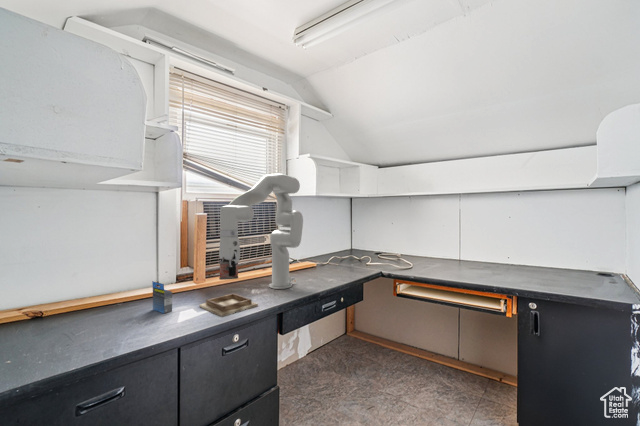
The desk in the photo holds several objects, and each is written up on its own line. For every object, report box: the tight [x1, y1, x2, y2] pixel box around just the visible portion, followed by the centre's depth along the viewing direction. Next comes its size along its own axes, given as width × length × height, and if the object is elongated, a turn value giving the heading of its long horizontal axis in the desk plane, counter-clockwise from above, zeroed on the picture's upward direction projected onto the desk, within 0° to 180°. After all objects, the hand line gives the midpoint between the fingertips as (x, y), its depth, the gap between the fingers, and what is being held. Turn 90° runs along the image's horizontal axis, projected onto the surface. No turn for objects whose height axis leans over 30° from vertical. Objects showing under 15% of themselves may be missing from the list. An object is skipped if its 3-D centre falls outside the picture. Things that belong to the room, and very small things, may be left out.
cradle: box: [199, 292, 259, 317], centre depth 136 cm, size 18×18×3 cm
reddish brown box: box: [218, 257, 239, 281], centre depth 135 cm, size 8×3×10 cm, turn 108°
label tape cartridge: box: [151, 281, 173, 314], centre depth 130 cm, size 9×4×12 cm, turn 58°
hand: (228, 274), depth 135 cm, fingers closed on reddish brown box, 4 cm apart
